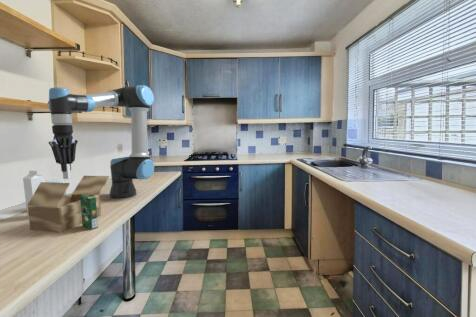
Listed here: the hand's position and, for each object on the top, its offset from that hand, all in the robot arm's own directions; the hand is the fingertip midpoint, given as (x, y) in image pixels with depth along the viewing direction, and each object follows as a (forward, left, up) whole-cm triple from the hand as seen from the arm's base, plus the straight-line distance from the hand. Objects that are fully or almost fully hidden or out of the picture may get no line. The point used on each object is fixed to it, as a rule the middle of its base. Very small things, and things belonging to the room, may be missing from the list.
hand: (67, 178), depth 126 cm
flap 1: (+9, 0, -5) cm, 11 cm away
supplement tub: (-16, -26, -19) cm, 36 cm away
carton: (+2, 0, -19) cm, 19 cm away
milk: (-2, -22, -19) cm, 29 cm away
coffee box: (+5, +15, -19) cm, 25 cm away
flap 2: (-13, 0, -5) cm, 14 cm away
